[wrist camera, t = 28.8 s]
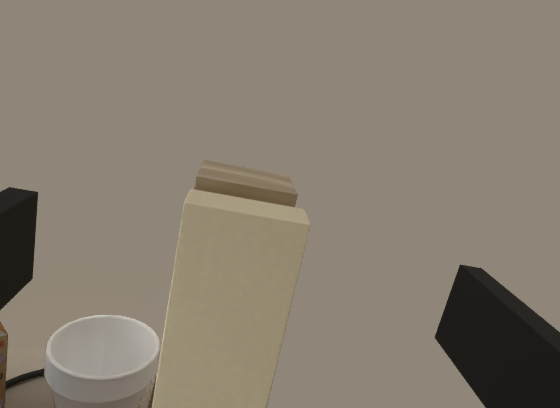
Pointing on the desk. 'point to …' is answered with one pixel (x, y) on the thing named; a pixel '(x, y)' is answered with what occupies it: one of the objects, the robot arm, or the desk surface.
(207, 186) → the bookcase
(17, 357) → the desk surface
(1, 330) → the milk carton
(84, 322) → the cup
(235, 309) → the book
